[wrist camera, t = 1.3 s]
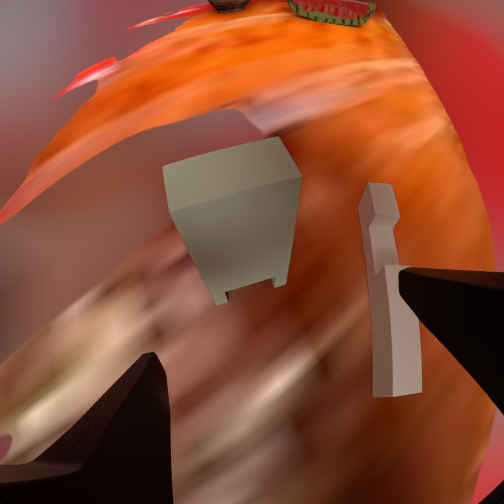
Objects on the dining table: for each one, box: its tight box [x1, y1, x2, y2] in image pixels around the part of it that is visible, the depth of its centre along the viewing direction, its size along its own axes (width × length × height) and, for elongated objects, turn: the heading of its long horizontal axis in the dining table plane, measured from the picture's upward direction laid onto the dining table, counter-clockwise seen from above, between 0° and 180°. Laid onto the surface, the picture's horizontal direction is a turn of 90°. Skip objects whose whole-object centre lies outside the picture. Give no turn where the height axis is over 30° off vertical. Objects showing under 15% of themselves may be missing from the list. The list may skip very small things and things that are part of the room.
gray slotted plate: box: [163, 136, 302, 305], centre depth 18 cm, size 6×3×13 cm, turn 107°
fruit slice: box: [287, 0, 376, 25], centre depth 56 cm, size 26×6×10 cm, turn 76°
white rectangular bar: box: [358, 182, 422, 397], centre depth 21 cm, size 18×2×4 cm, turn 177°
